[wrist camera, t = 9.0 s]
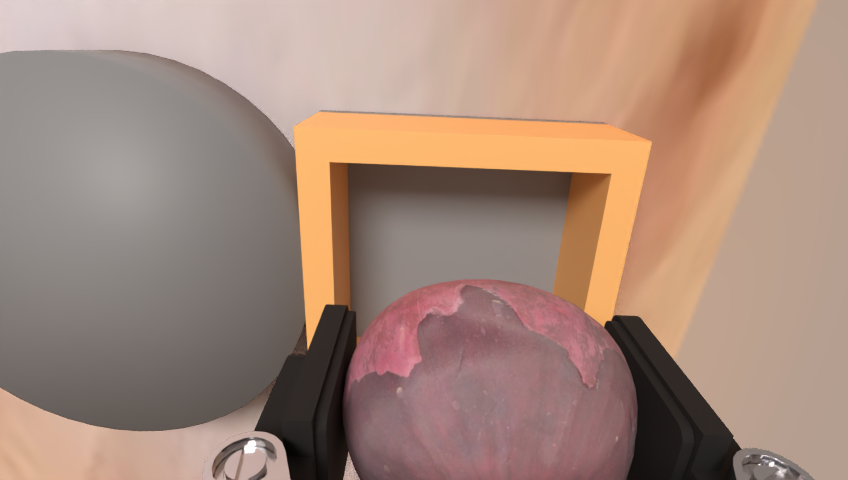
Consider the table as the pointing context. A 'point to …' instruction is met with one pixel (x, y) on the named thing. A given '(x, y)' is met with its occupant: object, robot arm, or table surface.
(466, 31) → the table surface
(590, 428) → the vegetable
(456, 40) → the table surface
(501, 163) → the dome with orange frame
